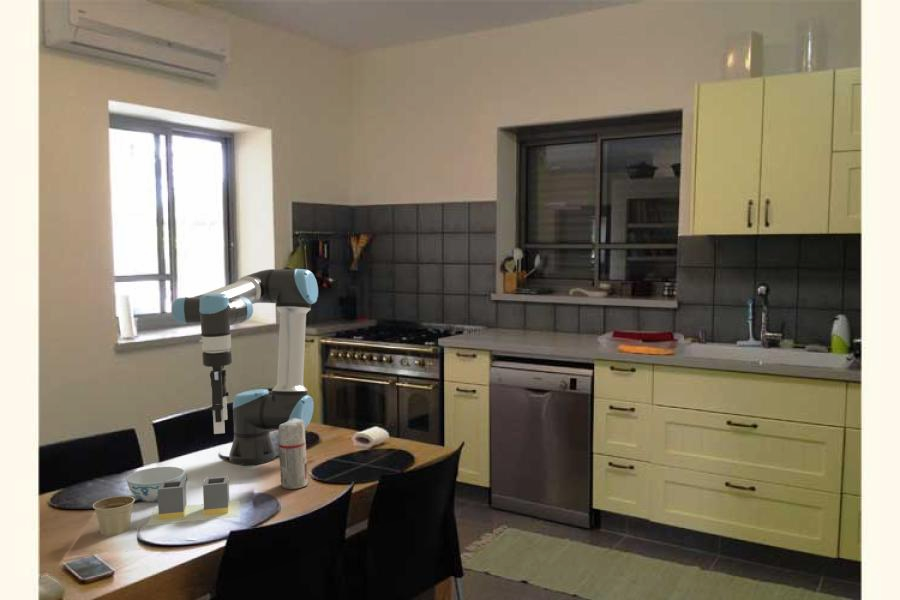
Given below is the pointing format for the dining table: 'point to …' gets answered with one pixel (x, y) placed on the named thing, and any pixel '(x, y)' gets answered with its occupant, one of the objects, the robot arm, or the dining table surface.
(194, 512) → the pin board
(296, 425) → the spray can
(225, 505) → the sleeve
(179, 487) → the sleeve seated
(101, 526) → the flower pot
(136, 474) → the chinaware
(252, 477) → the dining table surface
